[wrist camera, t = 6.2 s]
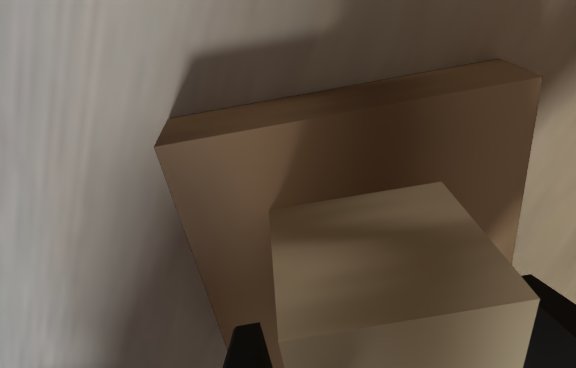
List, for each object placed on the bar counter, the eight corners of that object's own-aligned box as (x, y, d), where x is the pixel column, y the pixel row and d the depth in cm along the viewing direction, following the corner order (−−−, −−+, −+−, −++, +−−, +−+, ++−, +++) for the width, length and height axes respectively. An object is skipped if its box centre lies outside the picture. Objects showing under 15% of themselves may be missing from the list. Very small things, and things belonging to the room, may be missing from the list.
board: (240, 339, 17) (239, 382, 15) (168, 118, 12) (154, 146, 10) (474, 297, 17) (499, 337, 15) (500, 58, 12) (542, 76, 10)
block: (292, 327, 14) (308, 472, 10) (269, 209, 11) (278, 341, 8) (434, 304, 14) (504, 439, 10) (441, 181, 11) (540, 299, 8)
